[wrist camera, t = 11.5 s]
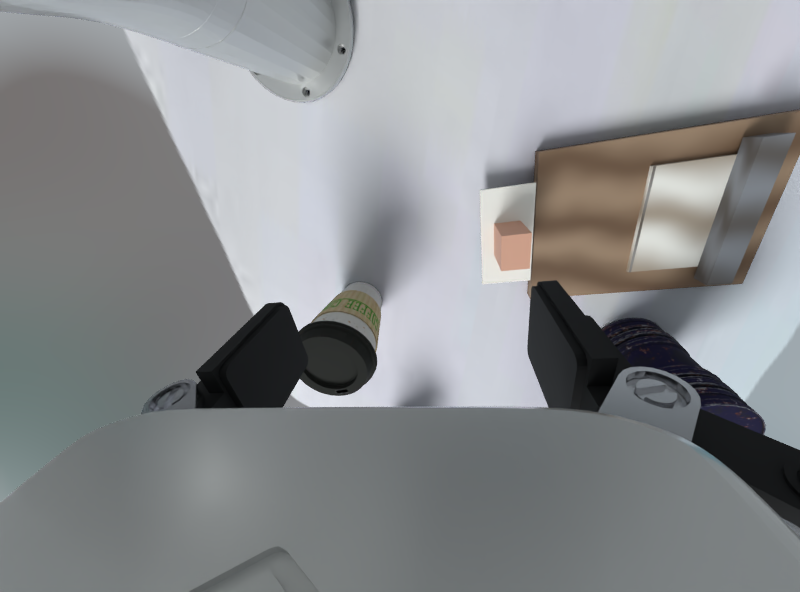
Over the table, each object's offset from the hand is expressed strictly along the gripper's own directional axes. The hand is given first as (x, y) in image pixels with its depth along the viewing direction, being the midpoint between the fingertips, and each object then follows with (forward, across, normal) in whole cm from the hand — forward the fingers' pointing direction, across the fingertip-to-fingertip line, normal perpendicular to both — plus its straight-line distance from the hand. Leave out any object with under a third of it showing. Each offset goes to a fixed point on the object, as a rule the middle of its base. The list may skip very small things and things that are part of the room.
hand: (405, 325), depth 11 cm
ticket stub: (+27, -9, +6) cm, 29 cm away
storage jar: (+28, -26, +25) cm, 46 cm away
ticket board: (+28, -24, +6) cm, 38 cm away
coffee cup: (+28, +12, +14) cm, 34 cm away
